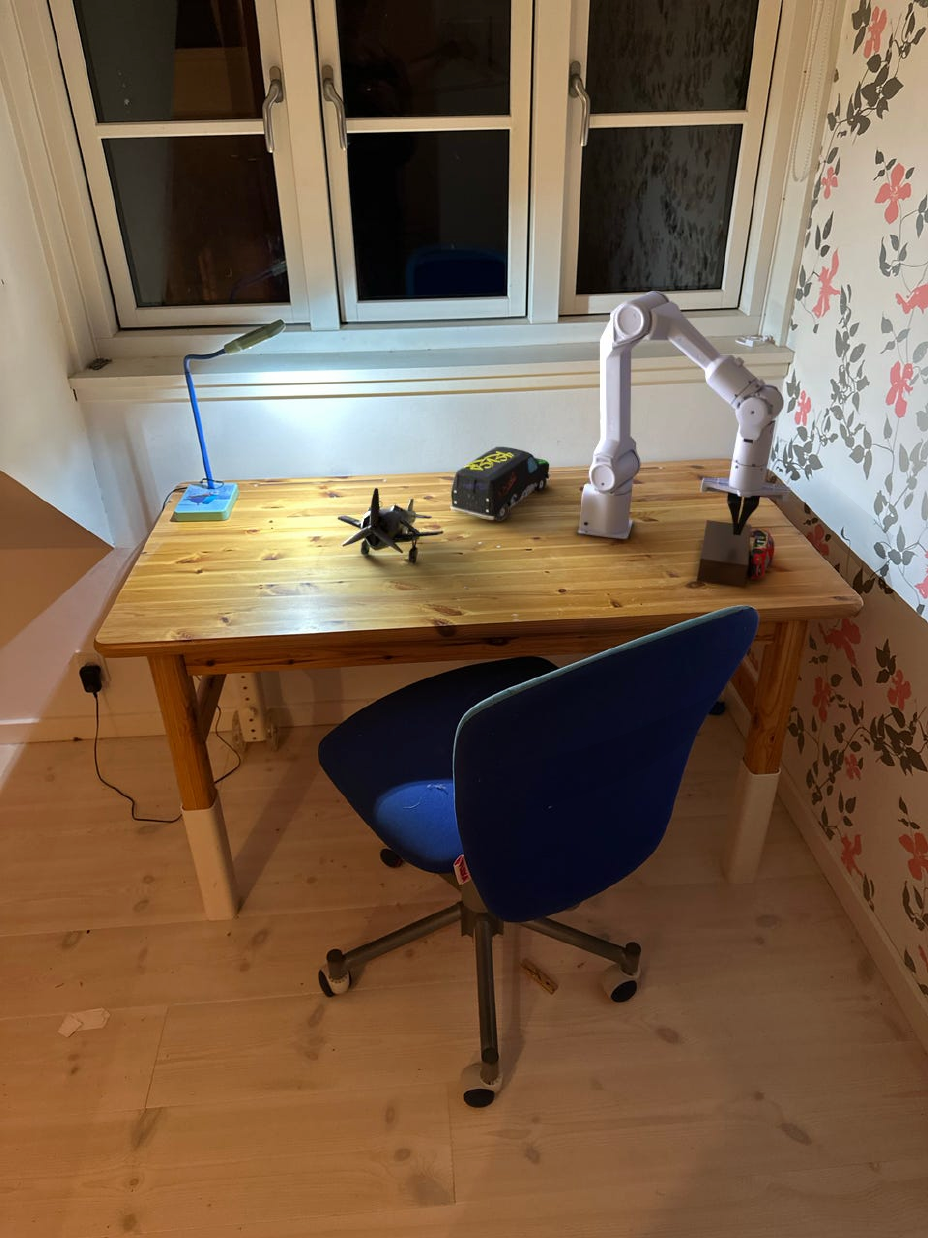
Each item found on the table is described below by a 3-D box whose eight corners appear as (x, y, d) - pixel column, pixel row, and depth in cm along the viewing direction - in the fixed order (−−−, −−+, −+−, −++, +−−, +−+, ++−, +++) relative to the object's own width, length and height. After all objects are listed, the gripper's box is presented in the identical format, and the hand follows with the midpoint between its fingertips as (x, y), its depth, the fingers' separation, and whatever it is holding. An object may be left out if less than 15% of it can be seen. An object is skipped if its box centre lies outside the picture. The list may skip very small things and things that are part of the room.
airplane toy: (323, 566, 153) (314, 489, 144) (368, 522, 168) (363, 450, 160) (424, 584, 147) (421, 504, 139) (462, 537, 162) (461, 463, 154)
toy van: (551, 485, 183) (553, 441, 177) (493, 528, 165) (493, 481, 160) (509, 475, 187) (509, 432, 182) (448, 516, 170) (447, 470, 165)
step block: (696, 581, 147) (700, 558, 144) (703, 541, 159) (706, 519, 157) (743, 587, 145) (748, 564, 142) (747, 546, 157) (751, 525, 155)
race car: (746, 583, 146) (770, 585, 144) (750, 554, 143) (775, 557, 142) (749, 552, 157) (772, 554, 155) (753, 525, 154) (776, 527, 153)
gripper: (704, 464, 140) (693, 536, 147) (795, 473, 136) (779, 548, 143) (707, 449, 145) (696, 520, 153) (795, 458, 141) (779, 530, 149)
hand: (736, 532), depth 148 cm, fingers closed
